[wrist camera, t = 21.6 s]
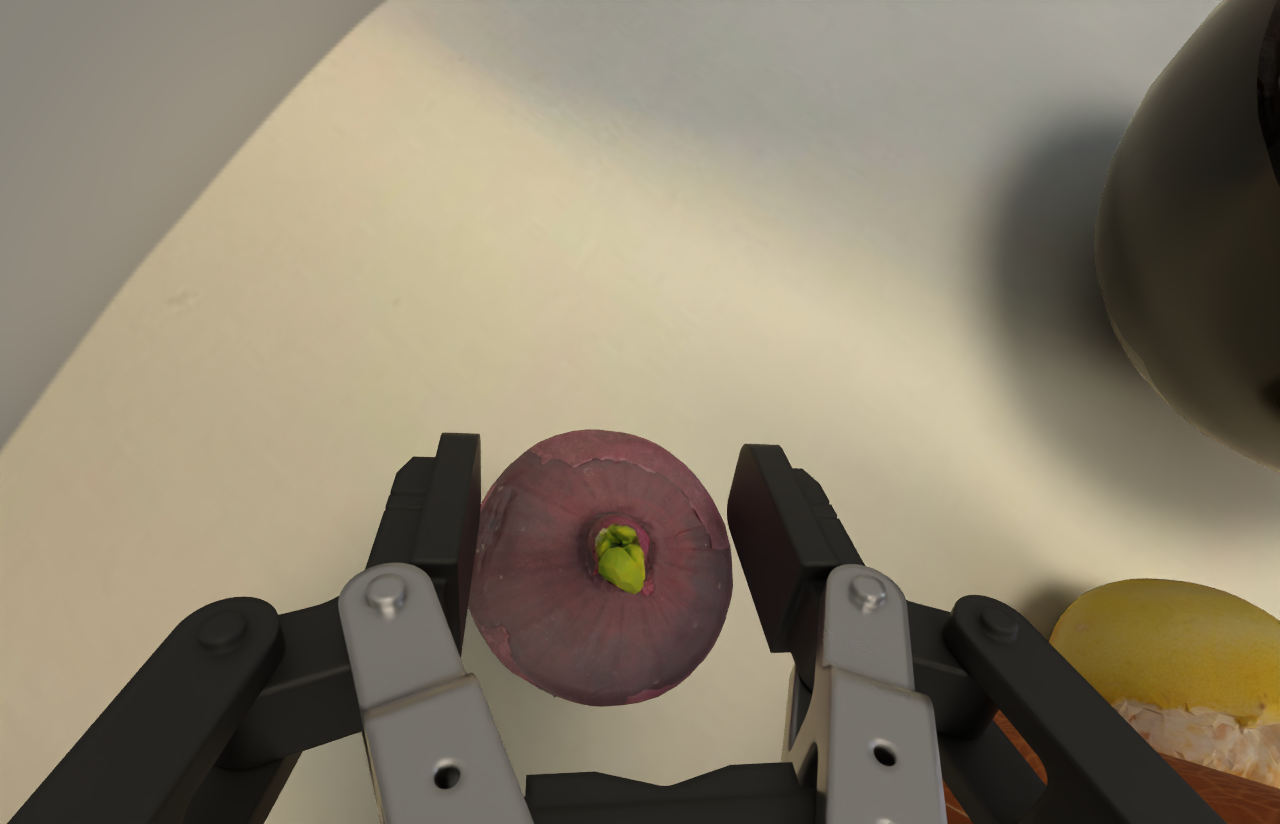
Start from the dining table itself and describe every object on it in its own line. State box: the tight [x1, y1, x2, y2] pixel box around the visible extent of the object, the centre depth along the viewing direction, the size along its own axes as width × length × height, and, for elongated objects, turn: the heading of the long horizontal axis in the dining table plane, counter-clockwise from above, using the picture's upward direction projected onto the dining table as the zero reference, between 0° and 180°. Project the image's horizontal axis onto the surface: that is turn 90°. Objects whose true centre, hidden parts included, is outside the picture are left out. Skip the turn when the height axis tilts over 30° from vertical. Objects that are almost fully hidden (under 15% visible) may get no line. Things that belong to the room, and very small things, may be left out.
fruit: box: [1049, 578, 1280, 789], centre depth 30 cm, size 10×11×10 cm
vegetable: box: [468, 430, 733, 707], centre depth 14 cm, size 6×6×10 cm
